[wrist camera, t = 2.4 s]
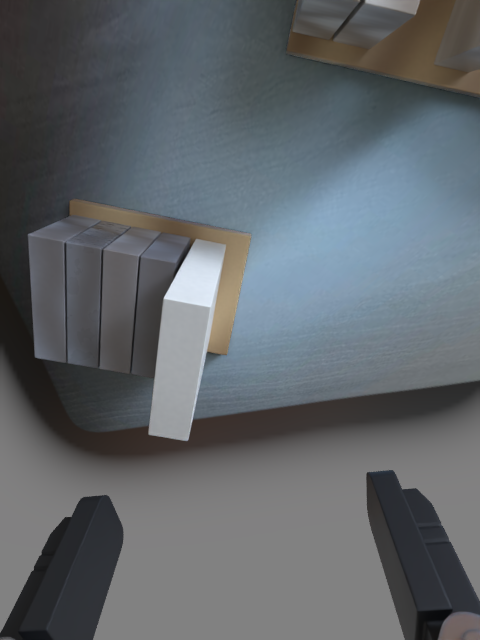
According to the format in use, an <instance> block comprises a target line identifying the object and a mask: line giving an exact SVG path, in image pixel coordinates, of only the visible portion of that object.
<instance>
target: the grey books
mask: <svg viewBox="0 0 480 640" xmlns="http://www.w3.org/2000/svg"><path fill="white" fill-rule="evenodd" d="M69 210H70V216H69V217H67V218H64V219H62V220H60V221H58V222H55V223H53V224H51V225H48V226H46V227H44V228H42V229H39V230H37V231H35V232H33V233H30V234H28V247H29V264H30V281H31V299H32V316H33V333H34V348H35V358H40V359H46V360H51V361H57V362H63V363H66V362H67V361H68V363H69V364H75V365H81V366H87V367H92V368H98V367H99V366H100V369H103V370H109V371H114V372H120V373H126V374H130V373H131V371H132V375H138V376H143V377H149V378H155V369H156V360H157V350H158V341H159V332H160V323H161V314H162V305H163V298H164V296H165V294H166V293H167V291H168V289H169V287H170V285H171V284H172V282H173V280H174V278H175V276H176V274H177V273H178V271H179V269H180V267H181V265H182V263H183V262H184V260H185V258H186V256H187V254H188V253H189V251H190V249H191V247H192V245H193V243H194V242H195V240H196V239H200V240H205V241H210V242H215V243H220V244H225V245H226V249H225V254H224V260H223V266H222V271H221V277H220V282H219V288H218V294H217V299H216V305H215V310H214V316H213V322H212V327H211V333H210V339H209V344H208V349H207V352H210V353H216V354H222V355H227V352H228V347H229V342H230V338H231V333H232V328H233V323H234V318H235V313H236V309H237V304H238V299H239V294H240V289H241V284H242V279H243V275H244V270H245V265H246V260H247V255H248V250H249V246H250V241H251V234H250V233H245V232H240V231H235V230H230V229H225V228H220V227H215V226H210V225H205V224H200V223H195V222H190V221H185V220H180V219H175V218H170V217H165V216H160V215H155V214H150V213H145V212H140V211H135V210H130V209H125V208H119V207H114V206H109V205H104V204H99V203H94V202H89V201H84V200H79V199H73V200H70V201H69Z"/></svg>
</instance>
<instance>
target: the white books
mask: <svg viewBox="0 0 480 640" xmlns="http://www.w3.org/2000/svg"><path fill="white" fill-rule="evenodd" d="M286 54H289V55H293V56H298V57H302V58H307V59H311V60H315V61H320V62H324V63H329V64H333V65H337V66H342V67H346V68H350V69H355V70H359V71H364V72H368V73H372V74H377V75H381V76H386V77H390V78H394V79H399V80H403V81H408V82H412V83H416V84H421V85H425V86H430V87H434V88H438V89H443V90H447V91H451V92H456V93H460V94H465V95H469V96H473V97H478V98H480V0H296V4H295V9H294V14H293V19H292V23H291V28H290V33H289V38H288V43H287V48H286Z"/></svg>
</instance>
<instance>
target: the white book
mask: <svg viewBox="0 0 480 640" xmlns="http://www.w3.org/2000/svg"><path fill="white" fill-rule="evenodd" d="M225 249H226V245H225V244H220V243H215V242H210V241H205V240H200V239H196V240H195V242H194V243H193V245H192V247H191V249H190V251H189V253H188V254H187V256H186V258H185V260H184V262H183V263H182V265H181V267H180V269H179V271H178V273H177V274H176V276H175V278H174V280H173V282H172V284H171V285H170V287H169V289H168V291H167V293H166V294H165V296H164V298H163V305H162V314H161V323H160V332H159V341H158V350H157V360H156V369H155V378H154V387H153V396H152V405H151V414H150V423H149V432H148V434H149V435H154V436H160V437H166V438H172V439H178V440H184V441H188V439H189V434H190V429H191V424H192V420H193V415H194V410H195V405H196V401H197V396H198V391H199V387H200V382H201V377H202V372H203V368H204V363H205V358H206V353H207V349H208V344H209V339H210V333H211V327H212V322H213V316H214V310H215V305H216V299H217V294H218V288H219V282H220V277H221V271H222V266H223V260H224V254H225Z"/></svg>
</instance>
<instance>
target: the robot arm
mask: <svg viewBox="0 0 480 640" xmlns="http://www.w3.org/2000/svg"><path fill="white" fill-rule="evenodd" d="M367 510H368V517H369V522H370V526H371V530H372V533H373V536H374V539H375V543H376V546H377V549H378V553H379V556H380V559H381V562H382V566H383V569H384V572H385V576H386V579H387V582H388V585H389V589H390V592H391V595H392V598H393V602H394V605H395V608H396V612H397V615H398V618H399V622H400V625H401V628H402V631H403V635H404V638H405V640H480V601H479V599H478V597H477V595H476V593H475V591H474V589H473V587H472V585H471V583H470V581H469V579H468V577H467V575H466V573H465V571H464V568H463V566H462V564H461V562H460V560H459V558H458V556H457V554H456V552H455V550H454V548H453V546H452V544H451V542H449V538H448V536H447V534H446V532H445V530H444V528H443V526H442V525H441V522H440V520H439V517H438V516H437V513H436V511H435V510H434V507H433V505H432V504H431V503H430V501H429V500H427V498H426V497H425V496H423V495H422V494H421V493H420V492H419V491H418V490H417V489H416V488H415V489H403V490H402V488H401V486H400V484H399V481H398V479H397V476H396V474H395V472H394V471H393V470H389V471H378V472H368V473H367ZM122 544H123V527H122V524H121V522H120V520H119V518H118V515H117V513H116V511H115V508H114V506H113V504H112V502H111V500H110V498H109V496H107V495H104V496H103V495H102V496H92V497H83V498H82V499H81V500H80V501H79V503H78V504H77V506H76V509H75V511H74V513H73V515H72V517H65V518H64V519H63V520H62V522H61V523H60V524H59V525H58V526H57V527H56V528H55V530H54V531H53V532H52V533H51V534H50V536H49V538H48V541H47V542H46V544H45V546H44V548H43V550H42V555H41V556H39V558H38V560H37V562H36V564H35V566H34V571H32V572H31V574H30V576H29V578H28V580H27V582H26V584H25V586H24V588H23V590H22V592H21V594H20V596H19V598H18V600H17V602H16V604H15V606H14V608H13V610H12V612H11V614H10V616H9V618H8V620H7V622H6V624H5V626H4V628H3V630H2V631H1V633H0V640H93V637H94V634H95V631H96V628H97V625H98V621H99V618H100V615H101V612H102V609H103V605H104V602H105V599H106V596H107V593H108V590H109V586H110V583H111V580H112V577H113V574H114V570H115V567H116V564H117V561H118V558H119V555H120V551H121V548H122Z"/></svg>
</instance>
